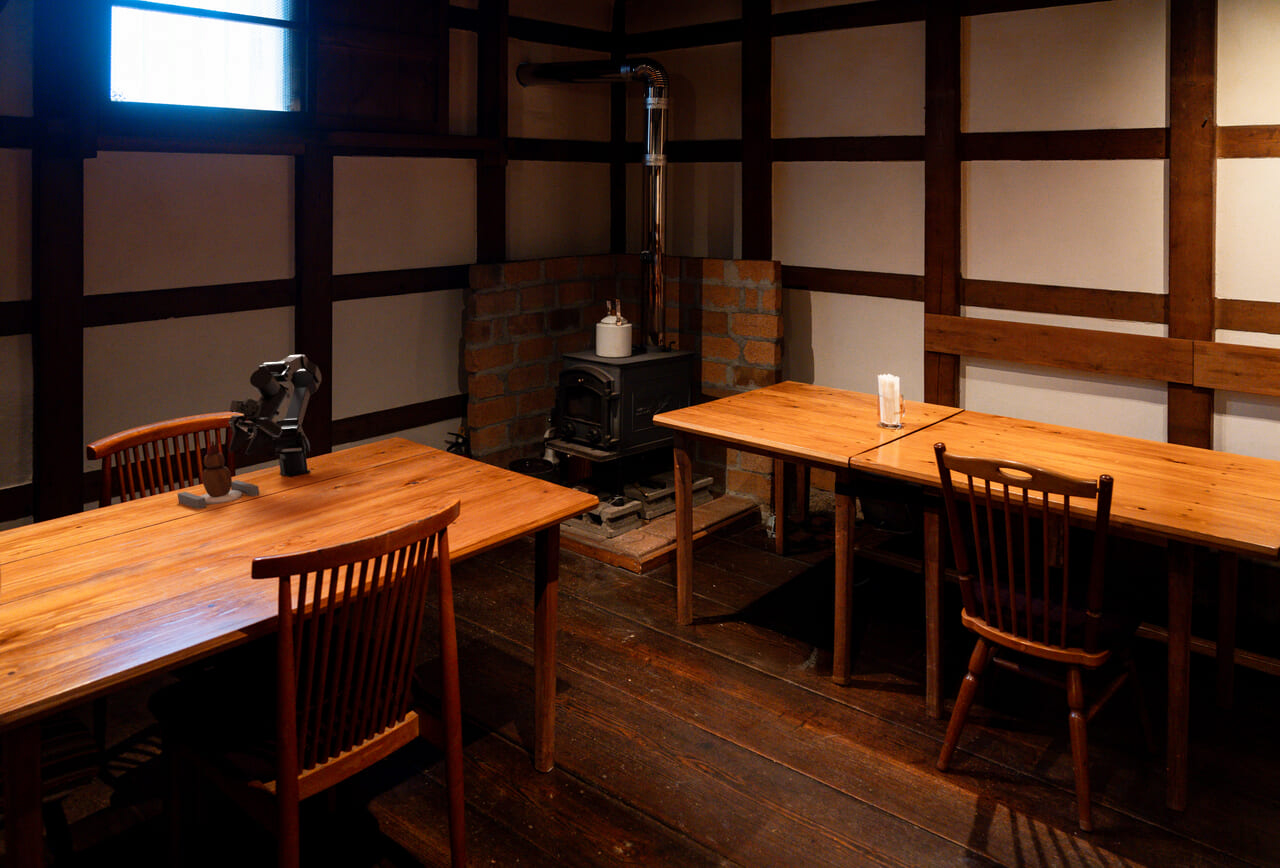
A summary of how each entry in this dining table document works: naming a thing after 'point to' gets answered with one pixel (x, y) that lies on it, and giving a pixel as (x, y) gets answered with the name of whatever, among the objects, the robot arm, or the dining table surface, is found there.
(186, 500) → the twin grey foam blocks
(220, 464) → the wooden figurine
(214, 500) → the coaster
